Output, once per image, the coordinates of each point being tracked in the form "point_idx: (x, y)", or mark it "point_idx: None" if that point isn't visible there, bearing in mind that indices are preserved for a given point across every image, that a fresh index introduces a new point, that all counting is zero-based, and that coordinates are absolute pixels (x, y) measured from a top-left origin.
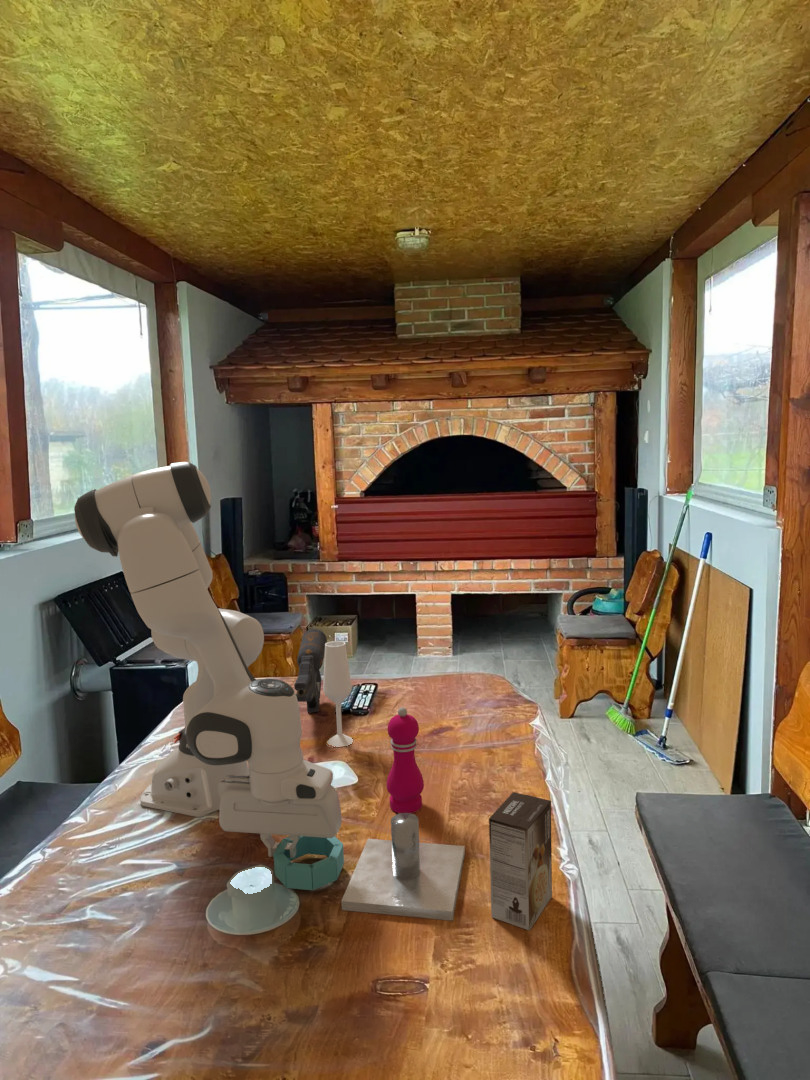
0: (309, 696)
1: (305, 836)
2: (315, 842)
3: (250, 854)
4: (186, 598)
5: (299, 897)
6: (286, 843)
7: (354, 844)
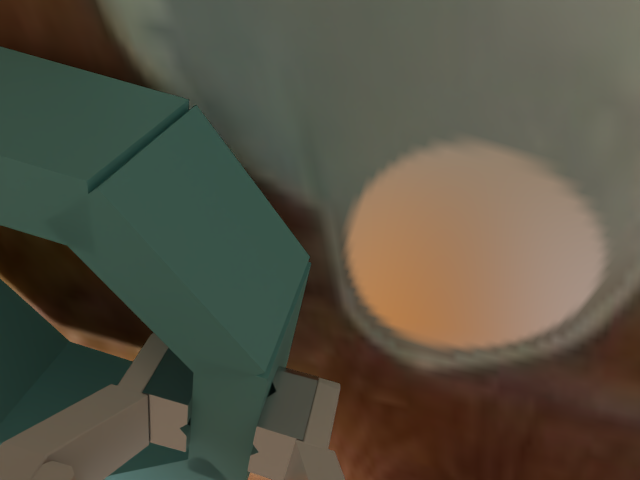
0: None
1: None
2: None
3: (484, 442)
4: None
5: (101, 17)
6: (202, 450)
7: None
